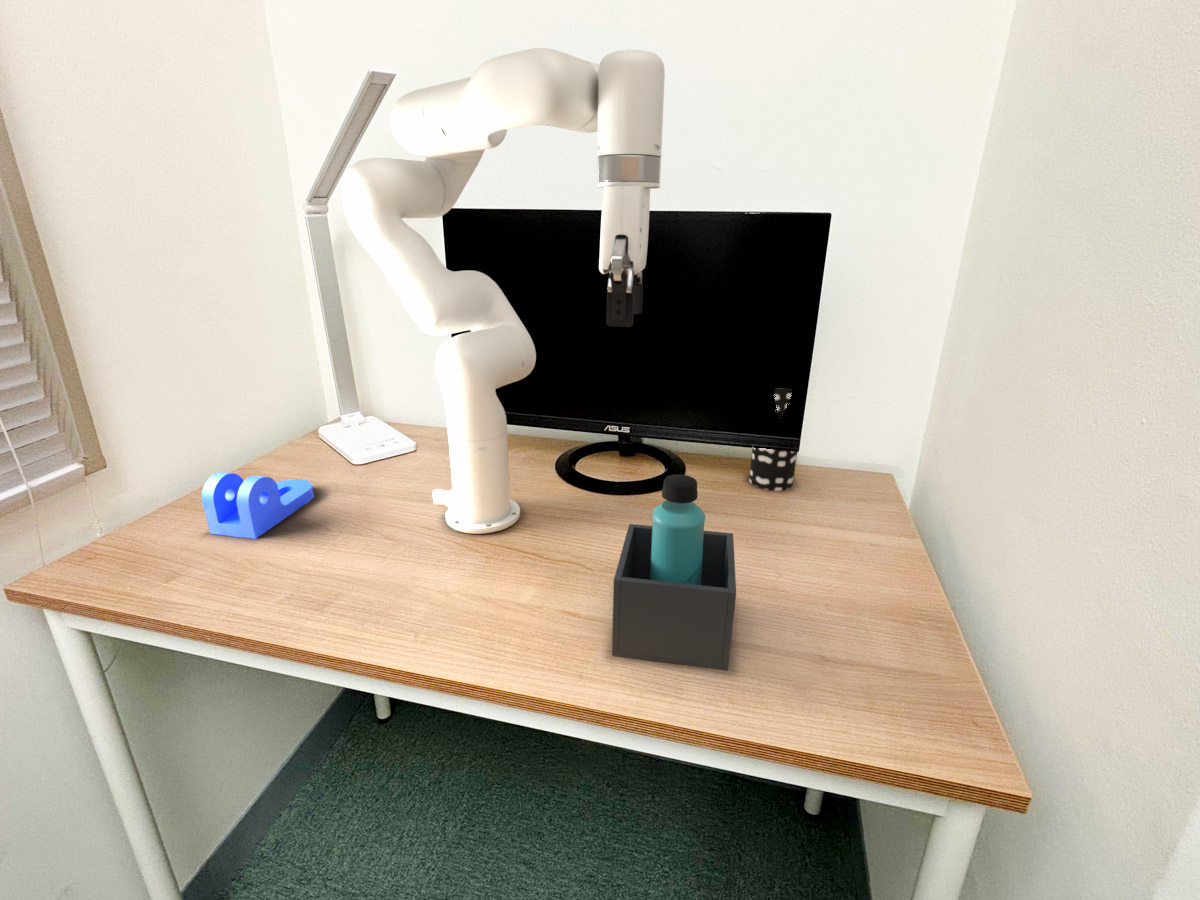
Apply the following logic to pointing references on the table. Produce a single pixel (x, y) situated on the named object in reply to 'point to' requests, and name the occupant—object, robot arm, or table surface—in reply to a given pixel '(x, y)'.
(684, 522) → the beverage bottle
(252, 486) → the bracket
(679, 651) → the open box
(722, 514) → the table surface
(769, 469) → the white-spotted black cylinder
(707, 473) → the table surface
